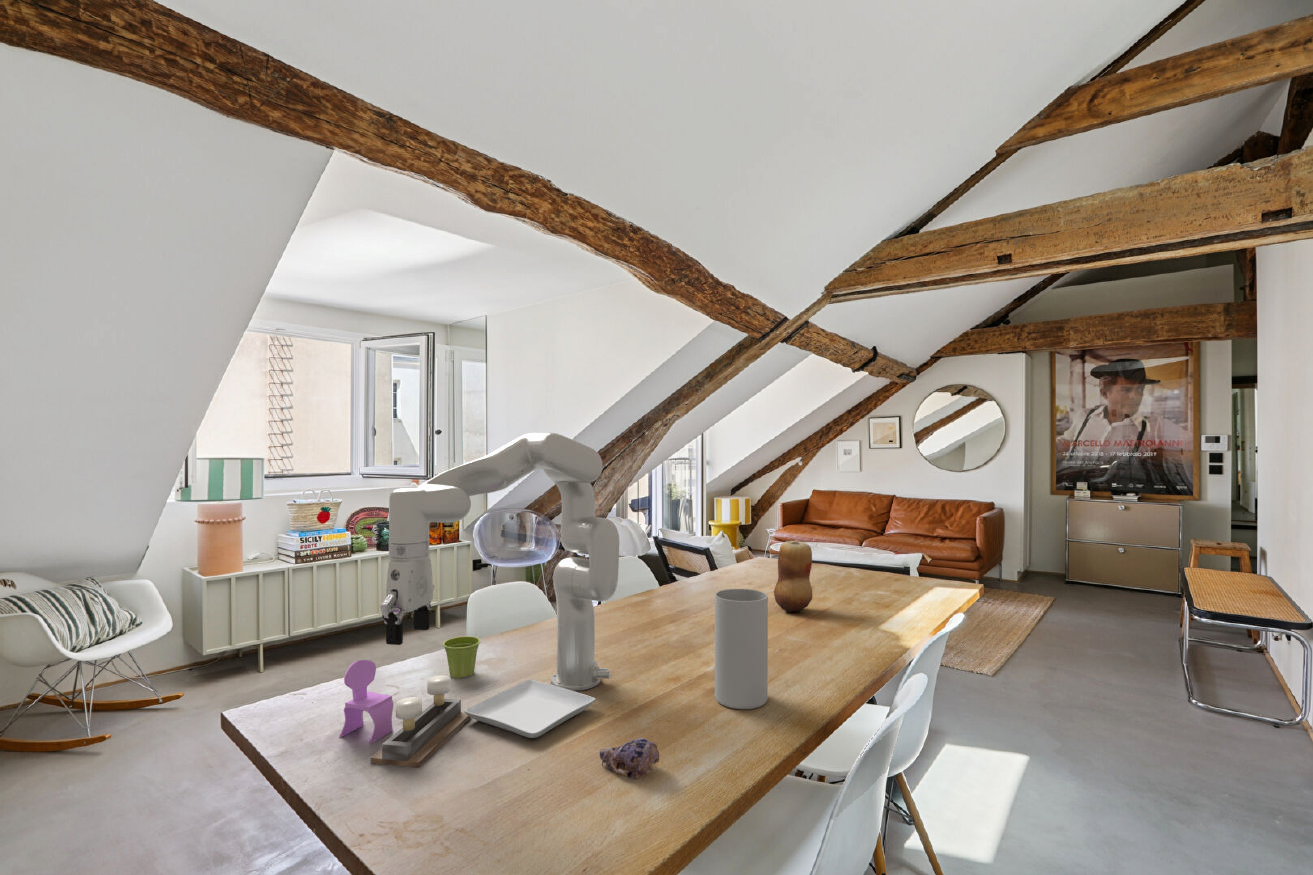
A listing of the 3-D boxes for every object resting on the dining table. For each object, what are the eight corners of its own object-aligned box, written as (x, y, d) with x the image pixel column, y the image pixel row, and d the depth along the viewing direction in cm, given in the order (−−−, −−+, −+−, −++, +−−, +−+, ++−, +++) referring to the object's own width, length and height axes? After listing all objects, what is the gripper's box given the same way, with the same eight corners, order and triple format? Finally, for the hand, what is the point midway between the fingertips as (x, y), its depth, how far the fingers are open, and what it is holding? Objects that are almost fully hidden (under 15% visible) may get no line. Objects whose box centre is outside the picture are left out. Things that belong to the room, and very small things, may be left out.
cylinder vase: (771, 693, 157) (771, 591, 157) (762, 713, 145) (762, 603, 145) (721, 686, 161) (721, 587, 161) (709, 706, 149) (709, 598, 149)
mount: (470, 717, 143) (471, 700, 143) (418, 767, 121) (418, 747, 121) (429, 714, 145) (429, 697, 145) (370, 762, 123) (370, 743, 123)
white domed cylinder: (426, 723, 129) (426, 697, 129) (413, 734, 124) (413, 707, 124) (404, 722, 130) (404, 696, 130) (390, 732, 125) (390, 706, 125)
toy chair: (368, 746, 130) (368, 672, 130) (335, 739, 133) (335, 666, 133) (398, 728, 138) (398, 658, 138) (366, 722, 141) (366, 654, 141)
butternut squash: (804, 618, 222) (804, 546, 222) (768, 612, 229) (768, 542, 229) (817, 609, 234) (818, 540, 234) (783, 604, 241) (783, 537, 241)
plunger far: (454, 699, 141) (454, 676, 141) (443, 708, 136) (443, 684, 136) (434, 698, 142) (434, 674, 142) (422, 707, 137) (422, 682, 137)
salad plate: (534, 749, 129) (534, 732, 129) (461, 724, 141) (461, 708, 141) (598, 711, 147) (598, 696, 147) (529, 691, 159) (529, 678, 159)
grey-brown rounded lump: (591, 768, 121) (591, 736, 121) (616, 752, 128) (616, 721, 128) (643, 788, 115) (643, 753, 115) (667, 769, 121) (667, 737, 121)
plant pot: (469, 682, 164) (469, 648, 164) (436, 679, 165) (436, 646, 165) (486, 669, 173) (486, 637, 173) (454, 667, 175) (454, 635, 175)
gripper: (402, 559, 119) (401, 651, 119) (448, 544, 136) (447, 625, 136) (365, 557, 120) (364, 649, 120) (415, 543, 137) (414, 623, 137)
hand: (408, 636), depth 128 cm, fingers open, 9 cm apart
